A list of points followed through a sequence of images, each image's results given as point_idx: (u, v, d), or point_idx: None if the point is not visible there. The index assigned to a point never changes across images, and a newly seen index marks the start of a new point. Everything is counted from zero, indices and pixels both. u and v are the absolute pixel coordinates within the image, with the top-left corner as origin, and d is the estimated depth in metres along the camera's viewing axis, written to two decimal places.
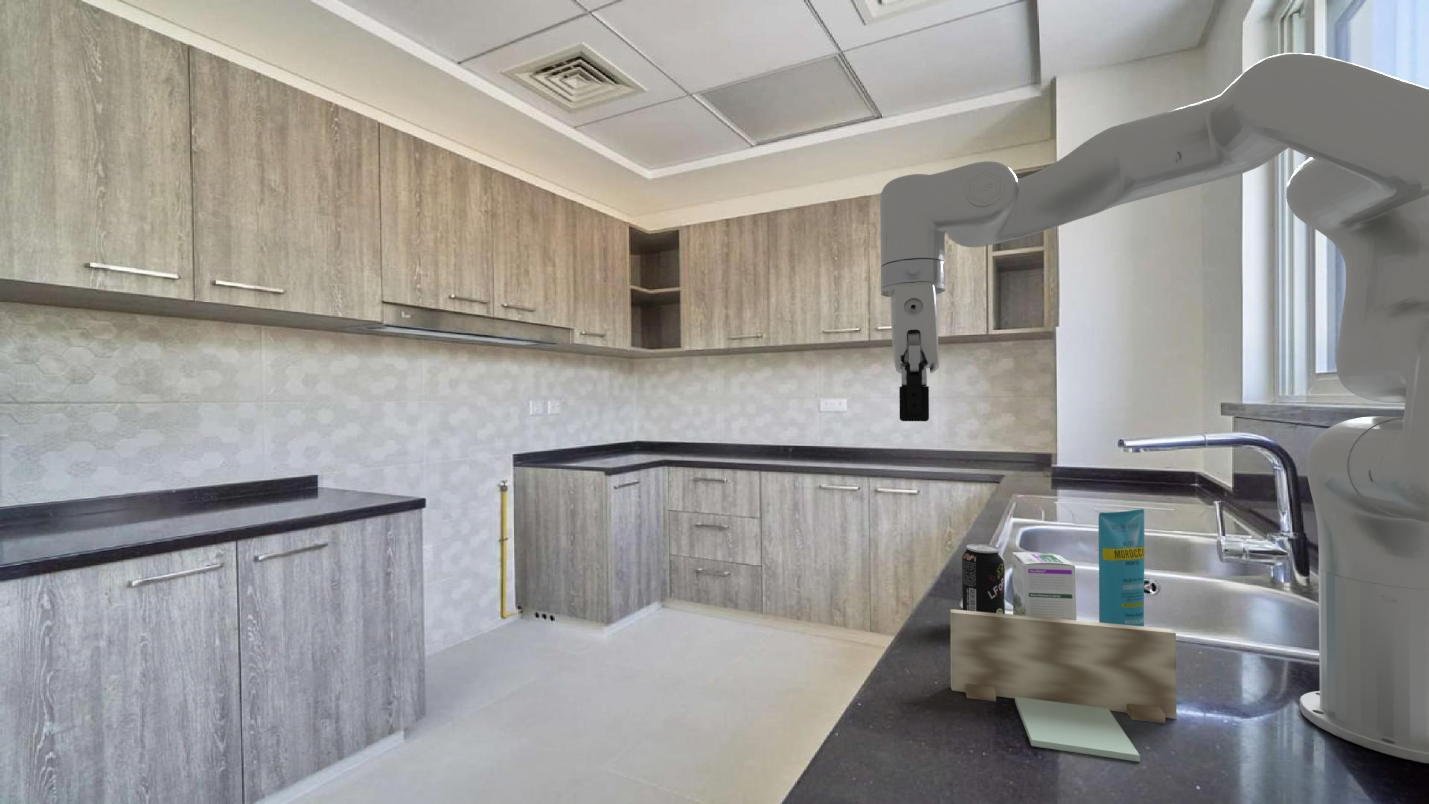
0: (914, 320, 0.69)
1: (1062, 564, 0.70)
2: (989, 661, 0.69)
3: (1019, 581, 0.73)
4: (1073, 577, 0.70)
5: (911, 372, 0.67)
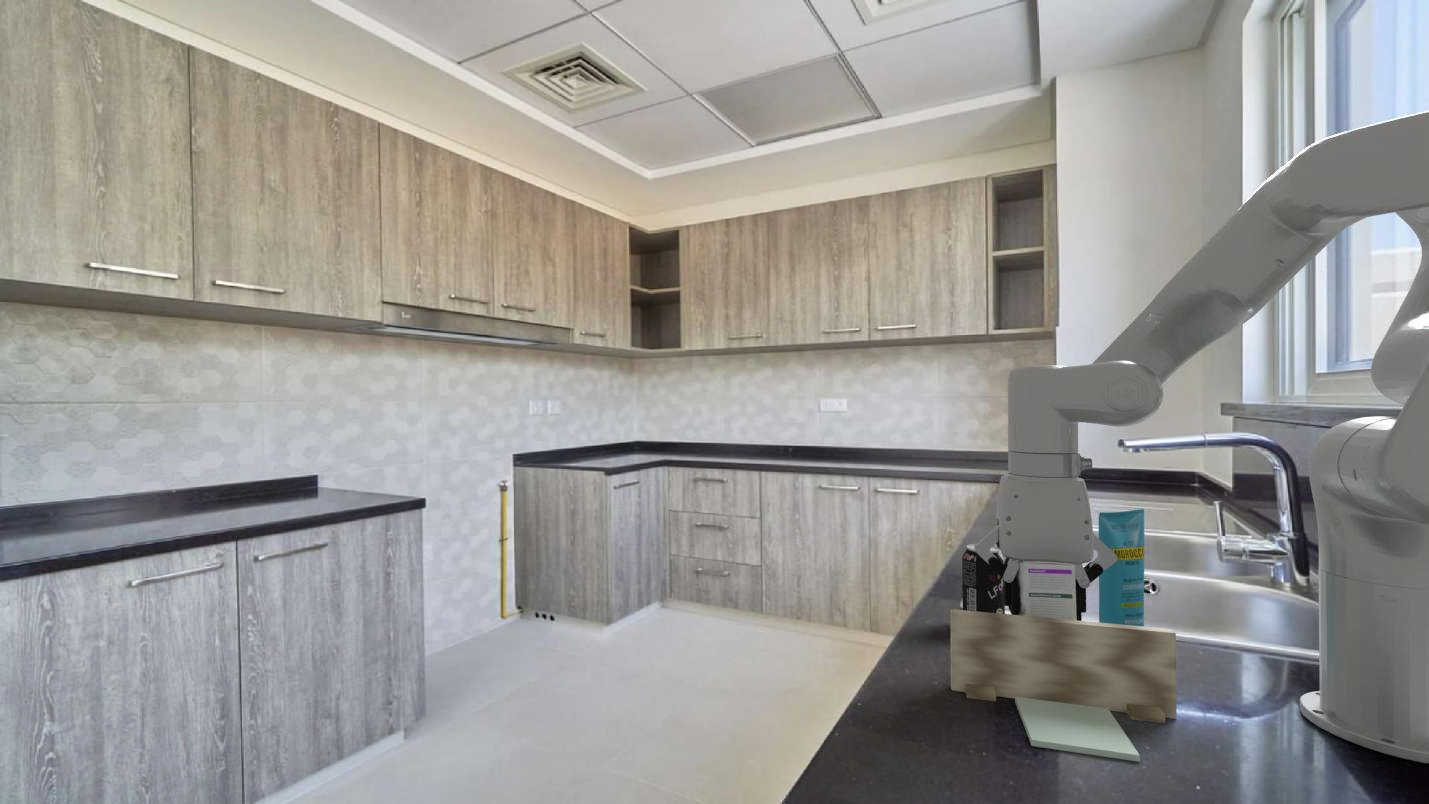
0: None
1: (1062, 564, 0.70)
2: (989, 661, 0.69)
3: (1019, 581, 0.73)
4: (1073, 577, 0.70)
5: None
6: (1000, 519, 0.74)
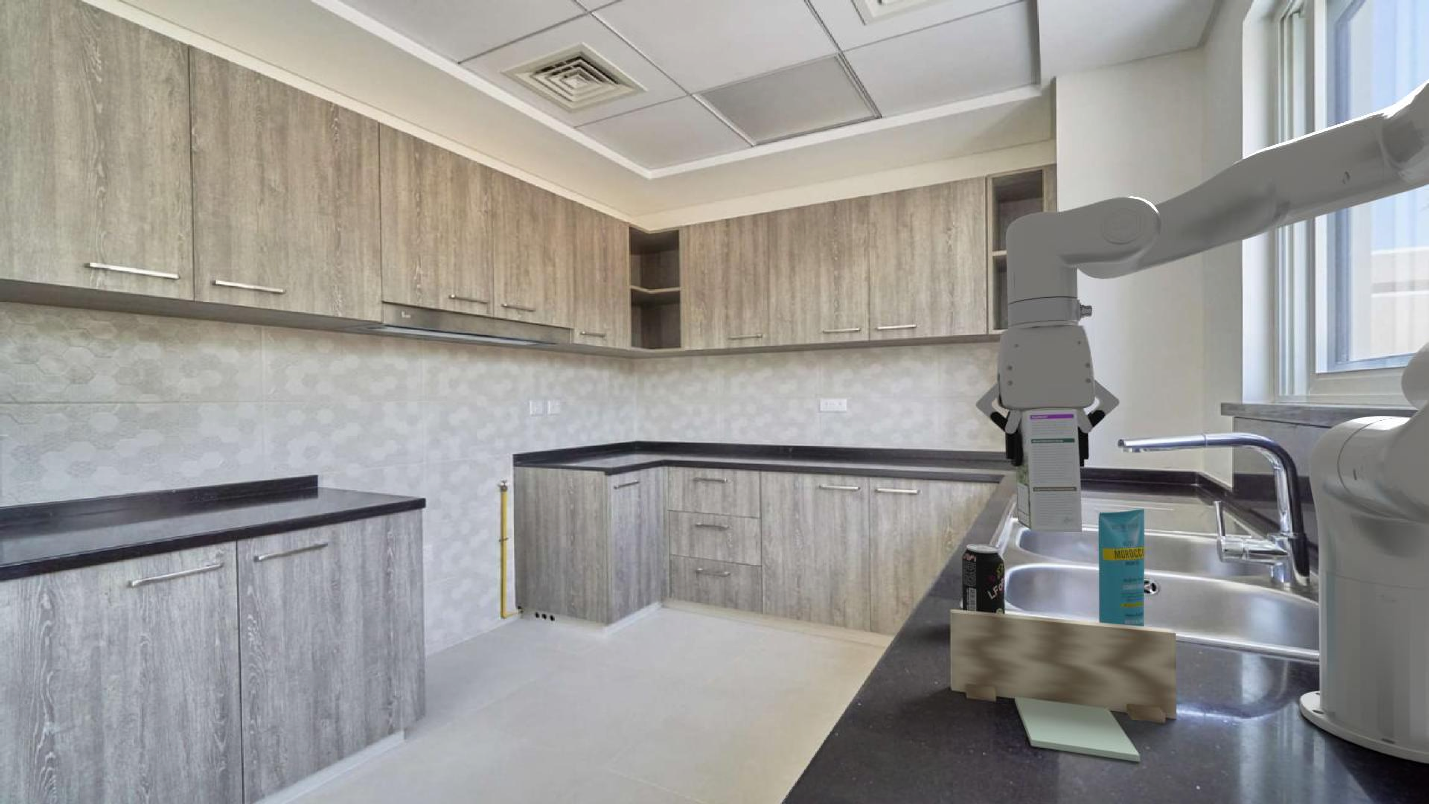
0: None
1: (1064, 409, 0.70)
2: (989, 661, 0.69)
3: (1021, 432, 0.73)
4: (1075, 421, 0.70)
5: None
6: (1001, 372, 0.74)
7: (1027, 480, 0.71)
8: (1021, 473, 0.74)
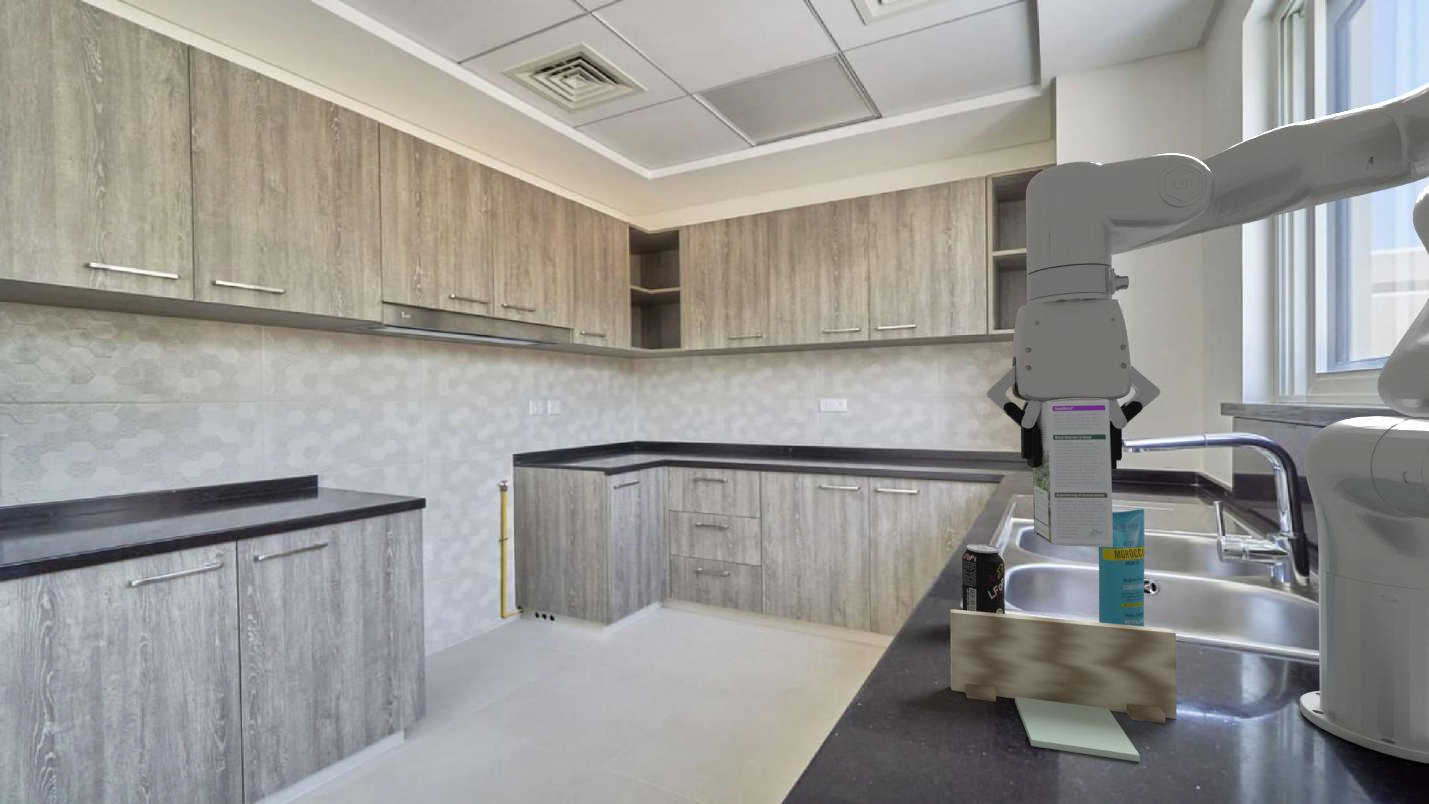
0: None
1: (1093, 399, 0.59)
2: (989, 661, 0.69)
3: (1041, 426, 0.61)
4: (1107, 413, 0.58)
5: None
6: (1017, 355, 0.62)
7: (1048, 484, 0.60)
8: (1039, 475, 0.62)
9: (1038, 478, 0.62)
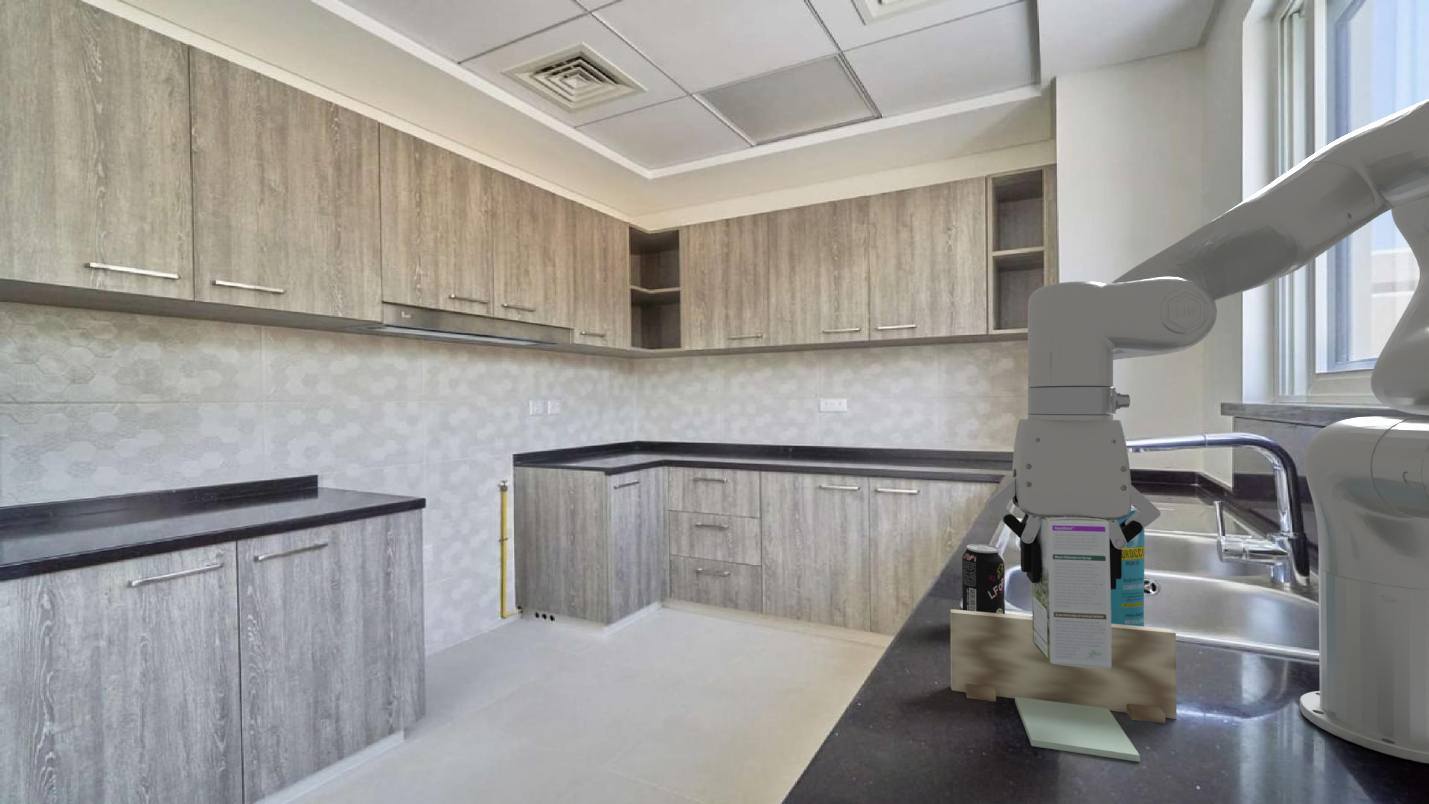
0: None
1: (1093, 520, 0.59)
2: (989, 661, 0.69)
3: (1041, 542, 0.61)
4: (1107, 535, 0.58)
5: None
6: (1018, 469, 0.62)
7: (1047, 602, 0.60)
8: (1039, 589, 0.62)
9: (1037, 591, 0.62)
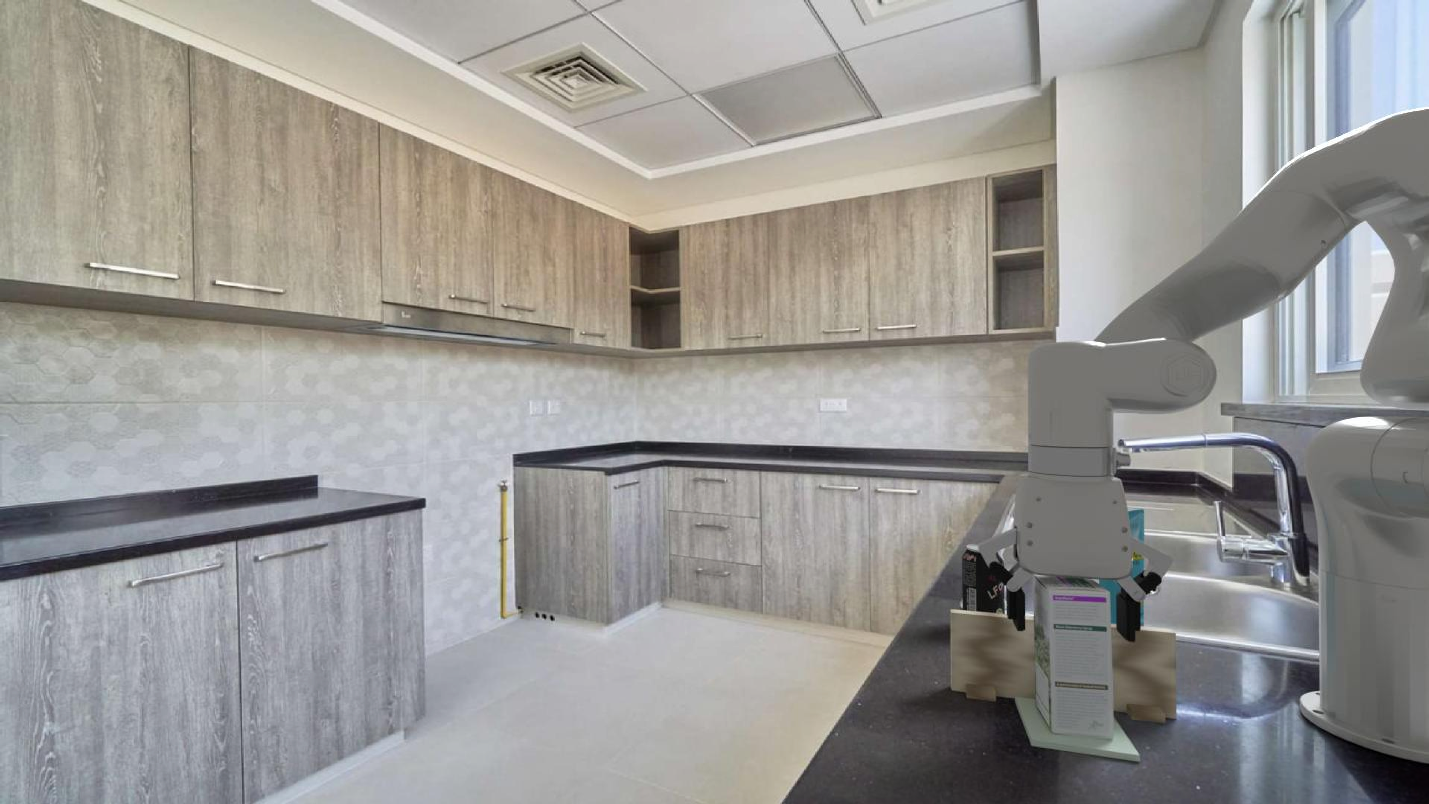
0: None
1: (1094, 590, 0.59)
2: (989, 661, 0.69)
3: (1042, 609, 0.61)
4: (1108, 606, 0.58)
5: None
6: (1019, 527, 0.62)
7: (1048, 672, 0.60)
8: (1040, 656, 0.62)
9: (1039, 657, 0.63)
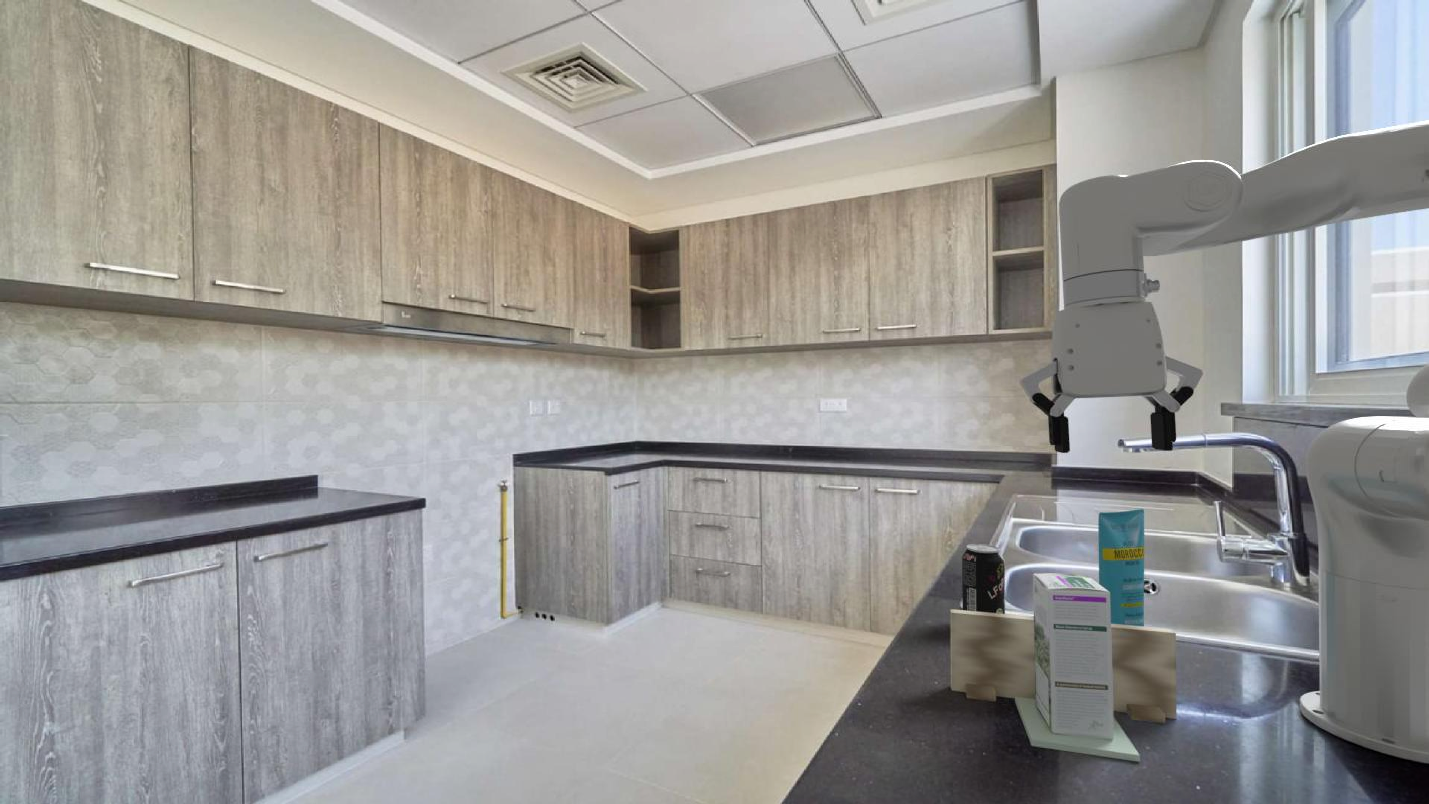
0: None
1: (1094, 590, 0.59)
2: (989, 661, 0.69)
3: (1042, 609, 0.61)
4: (1108, 606, 0.58)
5: None
6: (1059, 356, 0.66)
7: (1048, 672, 0.60)
8: (1040, 656, 0.62)
9: (1039, 657, 0.63)
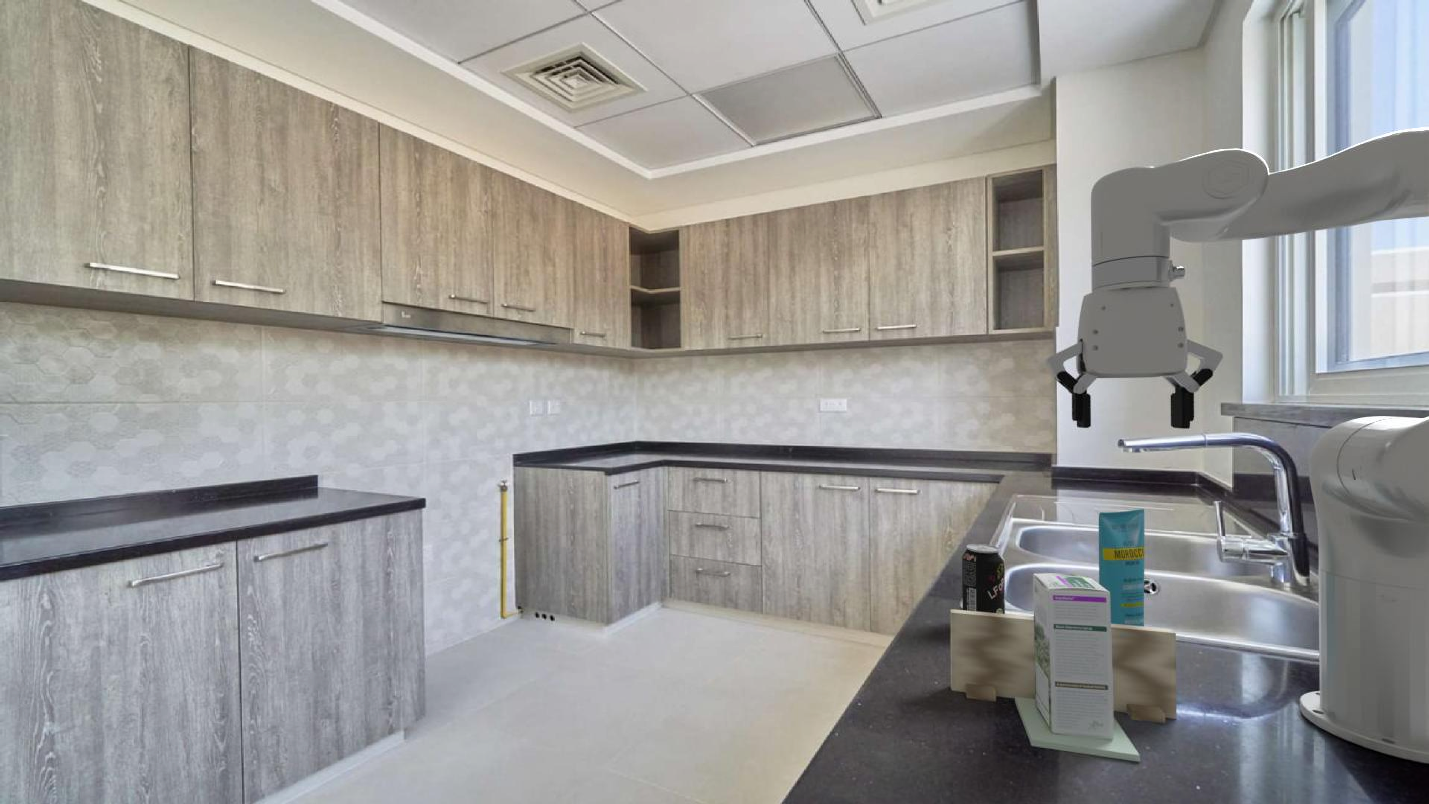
0: None
1: (1094, 590, 0.59)
2: (989, 661, 0.69)
3: (1042, 609, 0.61)
4: (1108, 606, 0.58)
5: None
6: (1085, 336, 0.70)
7: (1048, 672, 0.60)
8: (1040, 656, 0.62)
9: (1039, 657, 0.63)
